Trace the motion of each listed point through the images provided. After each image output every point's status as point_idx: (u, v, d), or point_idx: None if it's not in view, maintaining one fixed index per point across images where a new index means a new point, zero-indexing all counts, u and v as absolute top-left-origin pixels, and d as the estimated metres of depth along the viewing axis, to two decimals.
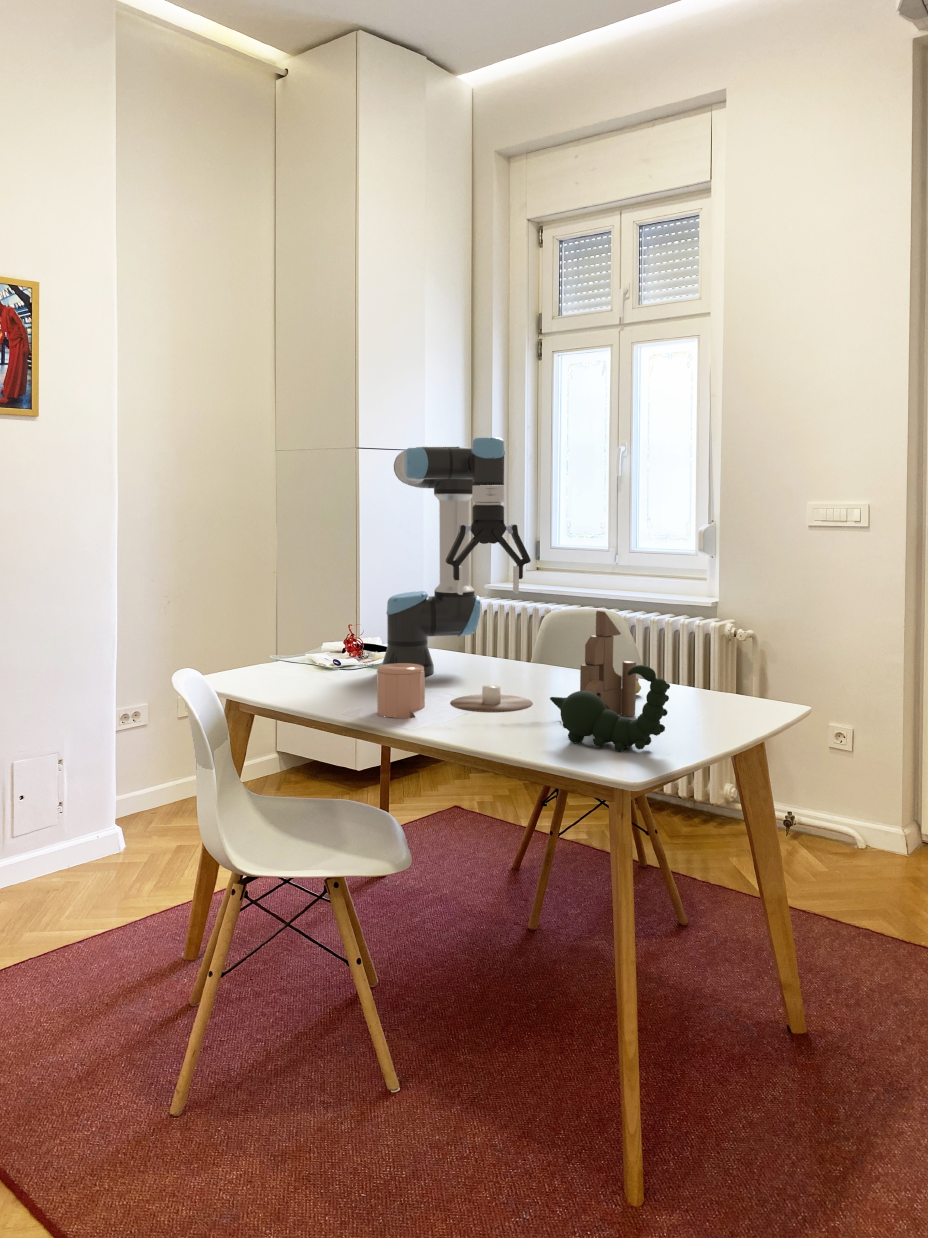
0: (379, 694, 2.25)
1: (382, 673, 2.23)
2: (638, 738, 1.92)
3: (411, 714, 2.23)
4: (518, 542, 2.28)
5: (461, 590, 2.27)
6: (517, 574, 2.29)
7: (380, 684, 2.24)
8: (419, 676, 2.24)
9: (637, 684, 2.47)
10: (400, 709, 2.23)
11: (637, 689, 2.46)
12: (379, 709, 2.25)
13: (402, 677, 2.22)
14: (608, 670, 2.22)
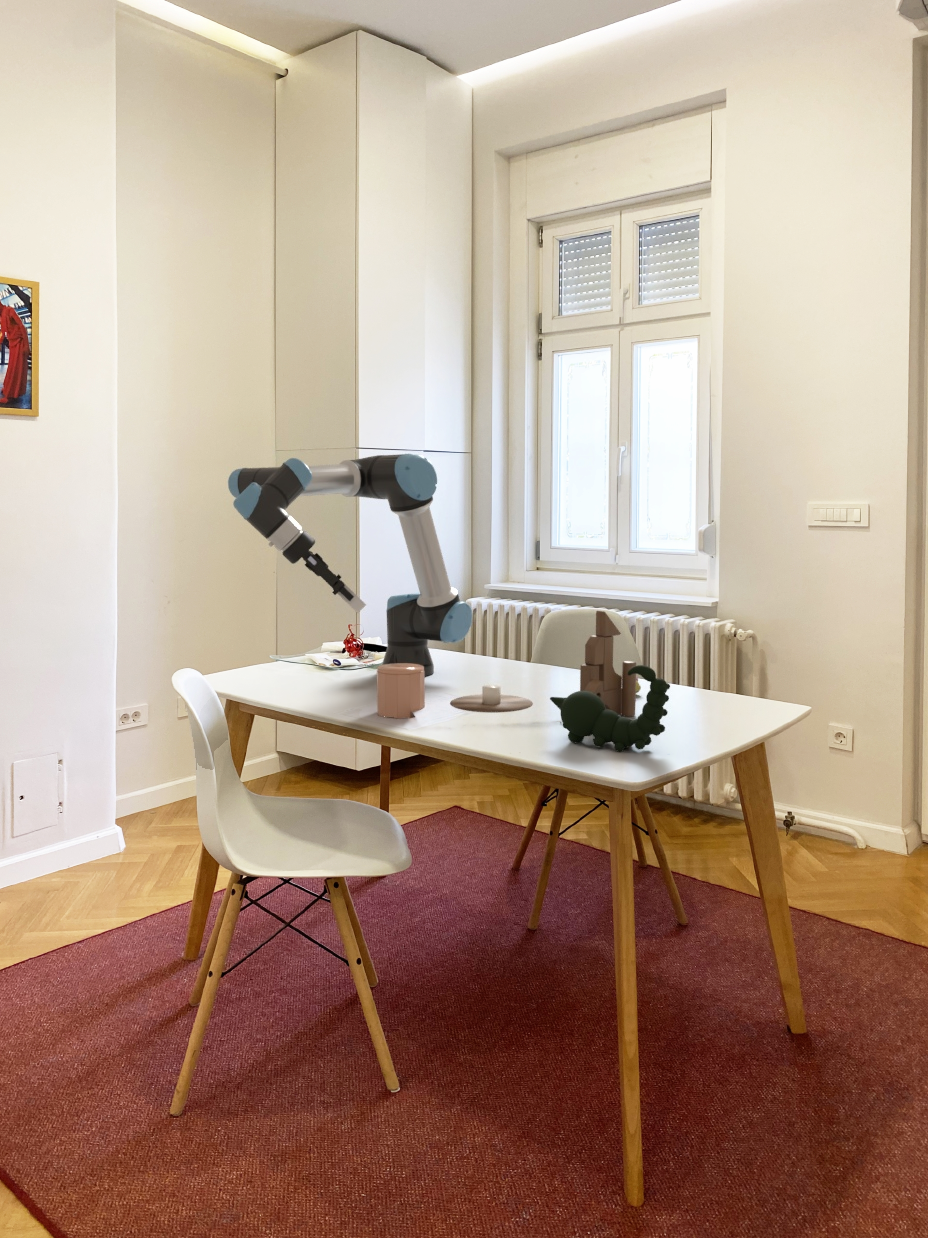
0: (379, 694, 2.25)
1: (382, 673, 2.23)
2: (638, 738, 1.92)
3: (411, 714, 2.23)
4: None
5: None
6: None
7: (380, 684, 2.24)
8: (419, 676, 2.24)
9: (637, 684, 2.47)
10: (400, 709, 2.23)
11: (637, 689, 2.46)
12: (379, 709, 2.25)
13: (402, 677, 2.22)
14: (608, 670, 2.22)
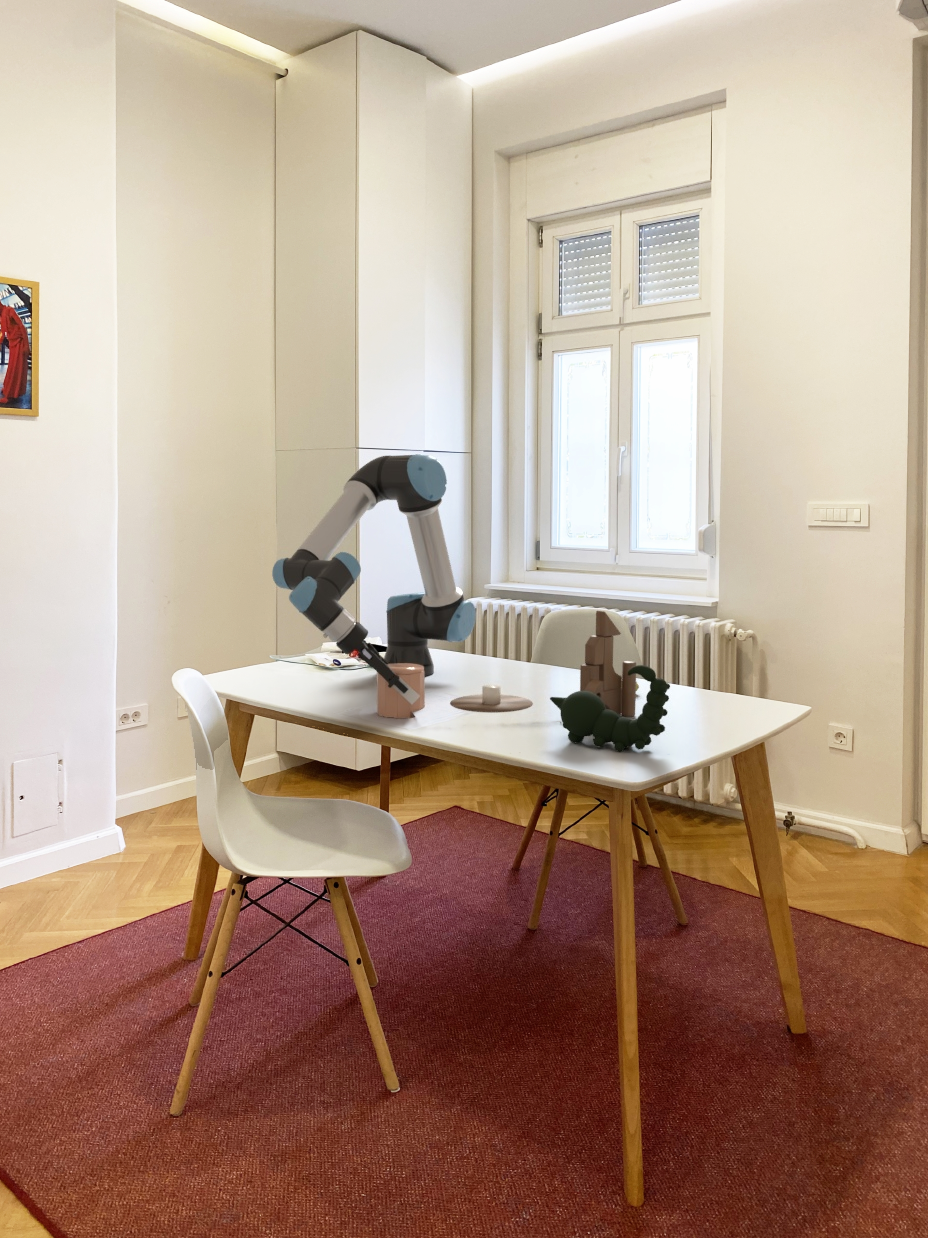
0: (379, 694, 2.25)
1: None
2: (638, 738, 1.92)
3: (411, 714, 2.23)
4: (374, 668, 2.19)
5: None
6: None
7: (380, 684, 2.24)
8: (419, 676, 2.24)
9: None
10: (400, 709, 2.23)
11: None
12: (379, 709, 2.25)
13: (402, 677, 2.22)
14: (608, 670, 2.22)
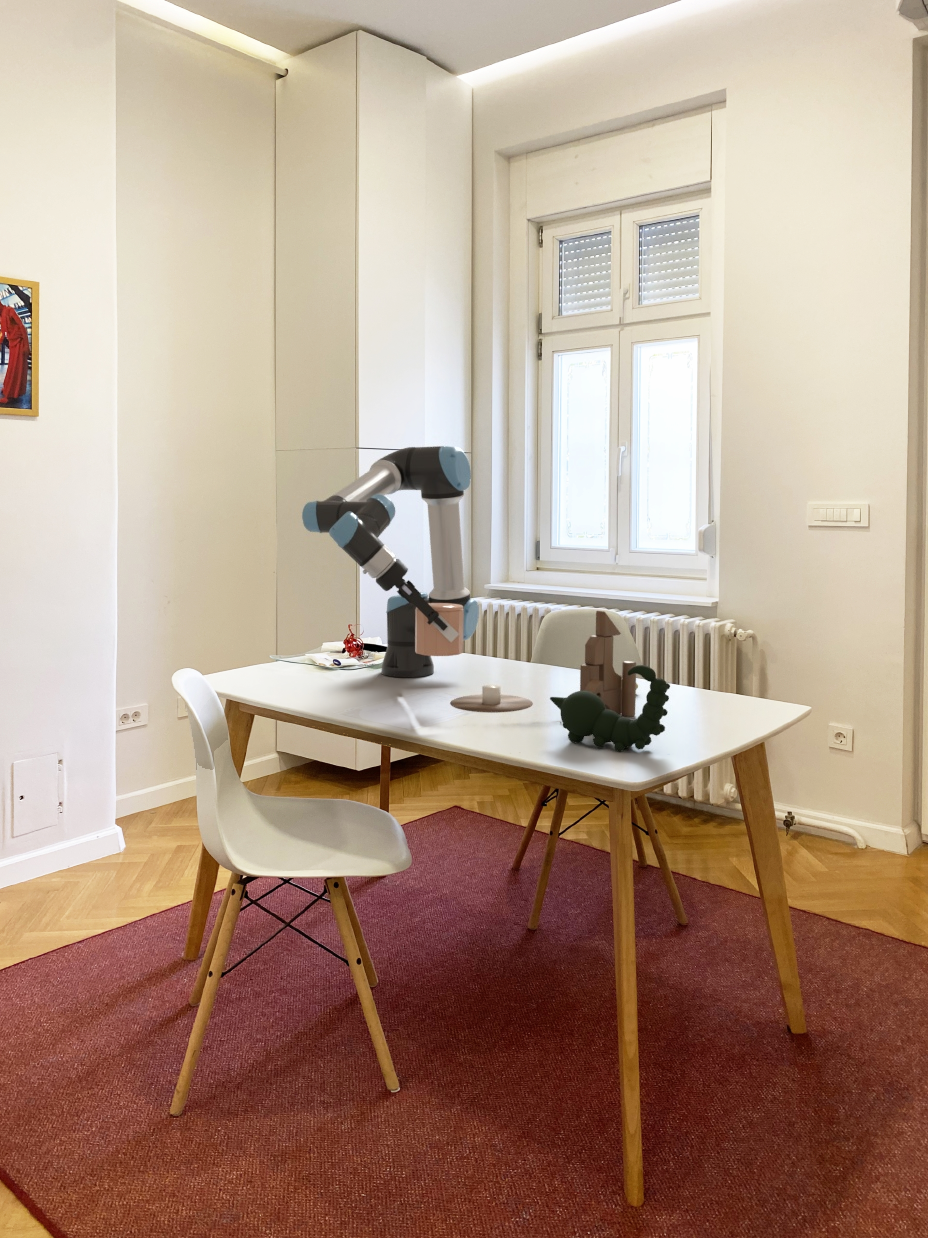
0: (418, 632, 2.23)
1: None
2: (638, 738, 1.92)
3: (450, 652, 2.22)
4: (414, 604, 2.17)
5: None
6: (437, 628, 2.20)
7: (419, 622, 2.23)
8: (458, 614, 2.22)
9: None
10: (439, 647, 2.21)
11: None
12: (417, 647, 2.24)
13: (441, 614, 2.20)
14: (608, 670, 2.22)
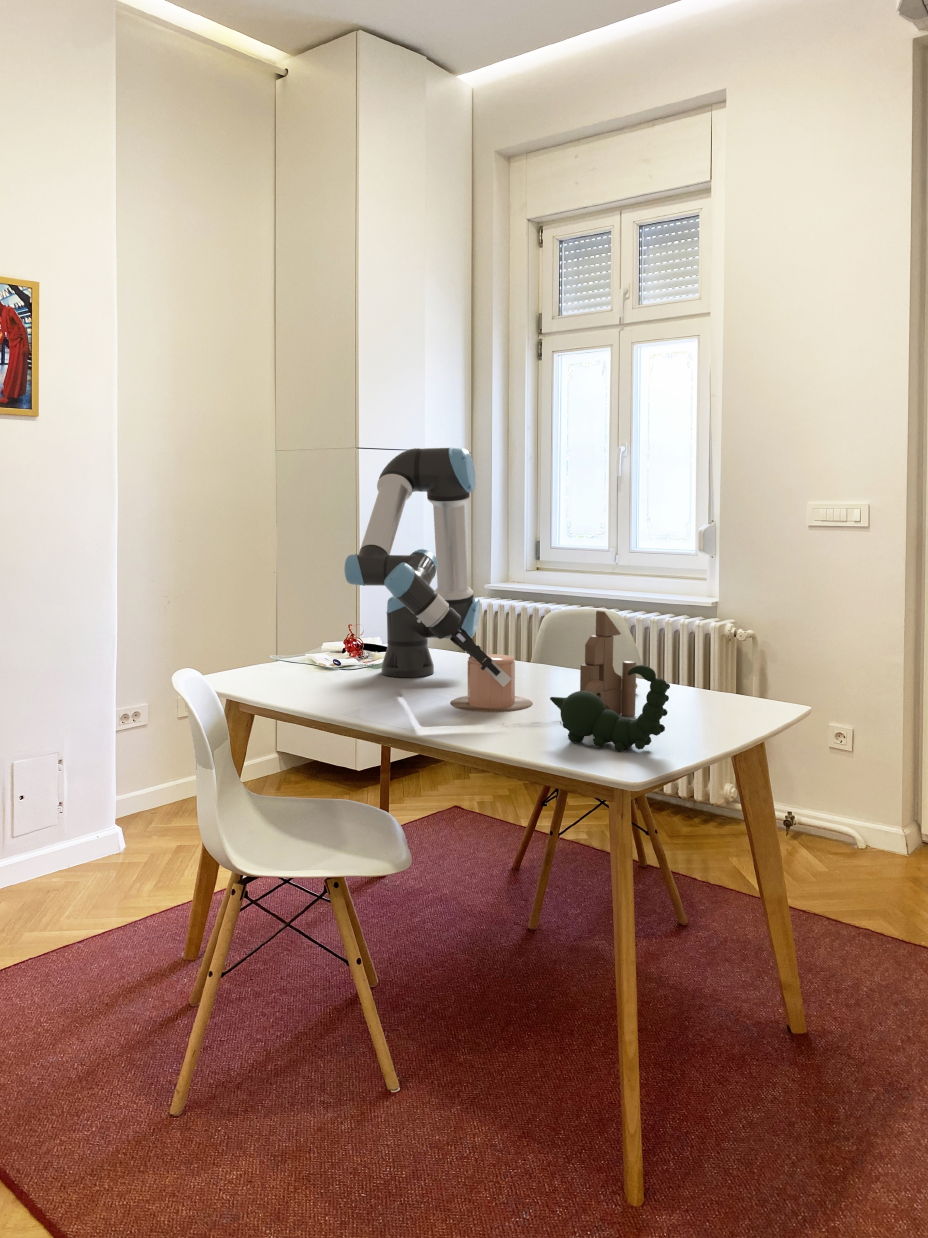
0: (471, 684, 2.29)
1: (474, 663, 2.27)
2: (638, 738, 1.92)
3: (503, 704, 2.27)
4: (468, 651, 2.22)
5: None
6: None
7: (472, 674, 2.28)
8: (511, 667, 2.28)
9: None
10: (492, 699, 2.26)
11: None
12: (471, 699, 2.29)
13: None
14: (608, 670, 2.22)
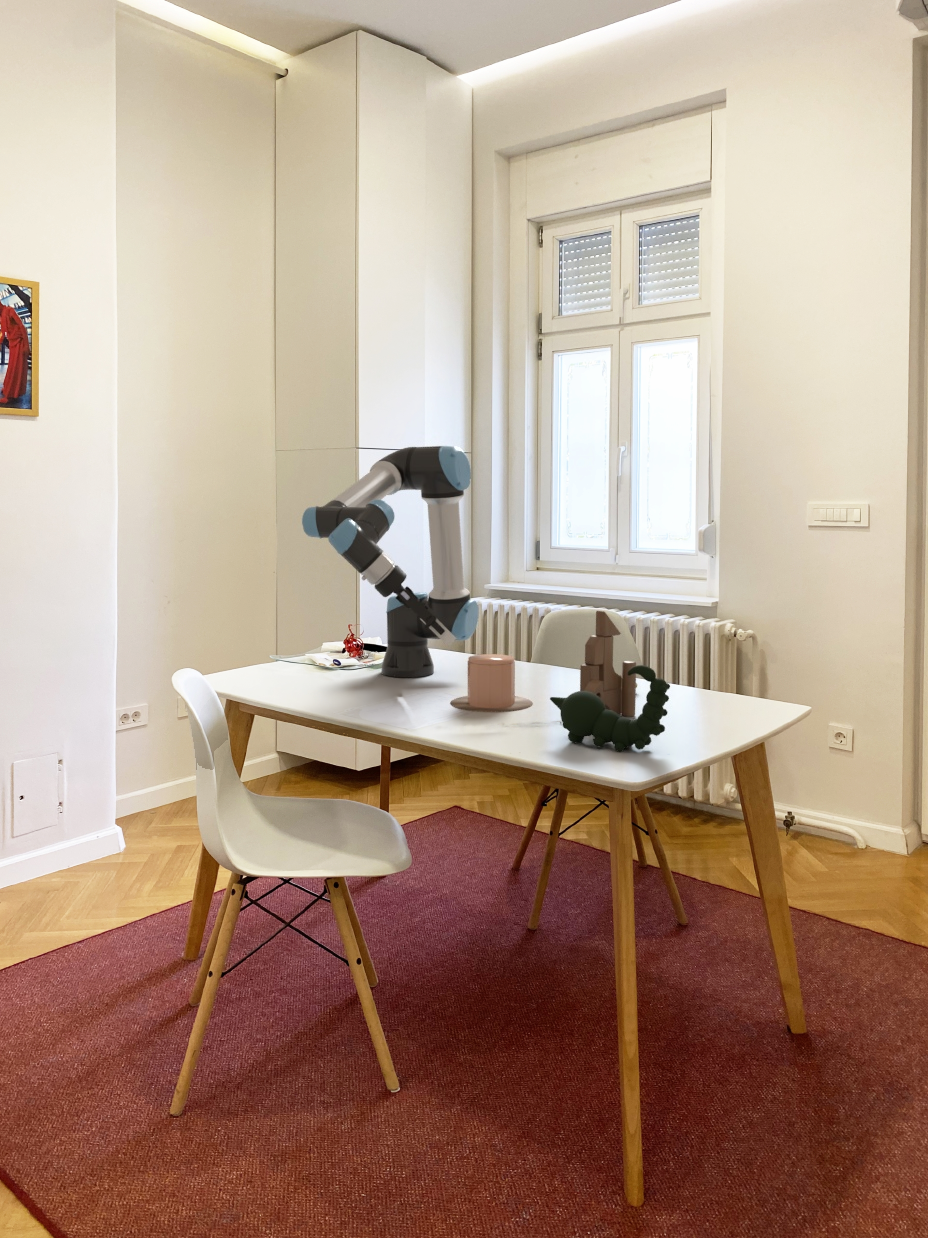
0: (471, 684, 2.29)
1: (474, 663, 2.27)
2: (638, 738, 1.92)
3: (503, 704, 2.27)
4: (412, 609, 2.19)
5: None
6: (434, 632, 2.21)
7: (472, 674, 2.28)
8: (511, 667, 2.28)
9: None
10: (492, 699, 2.26)
11: None
12: (471, 699, 2.29)
13: (495, 667, 2.25)
14: (608, 670, 2.22)
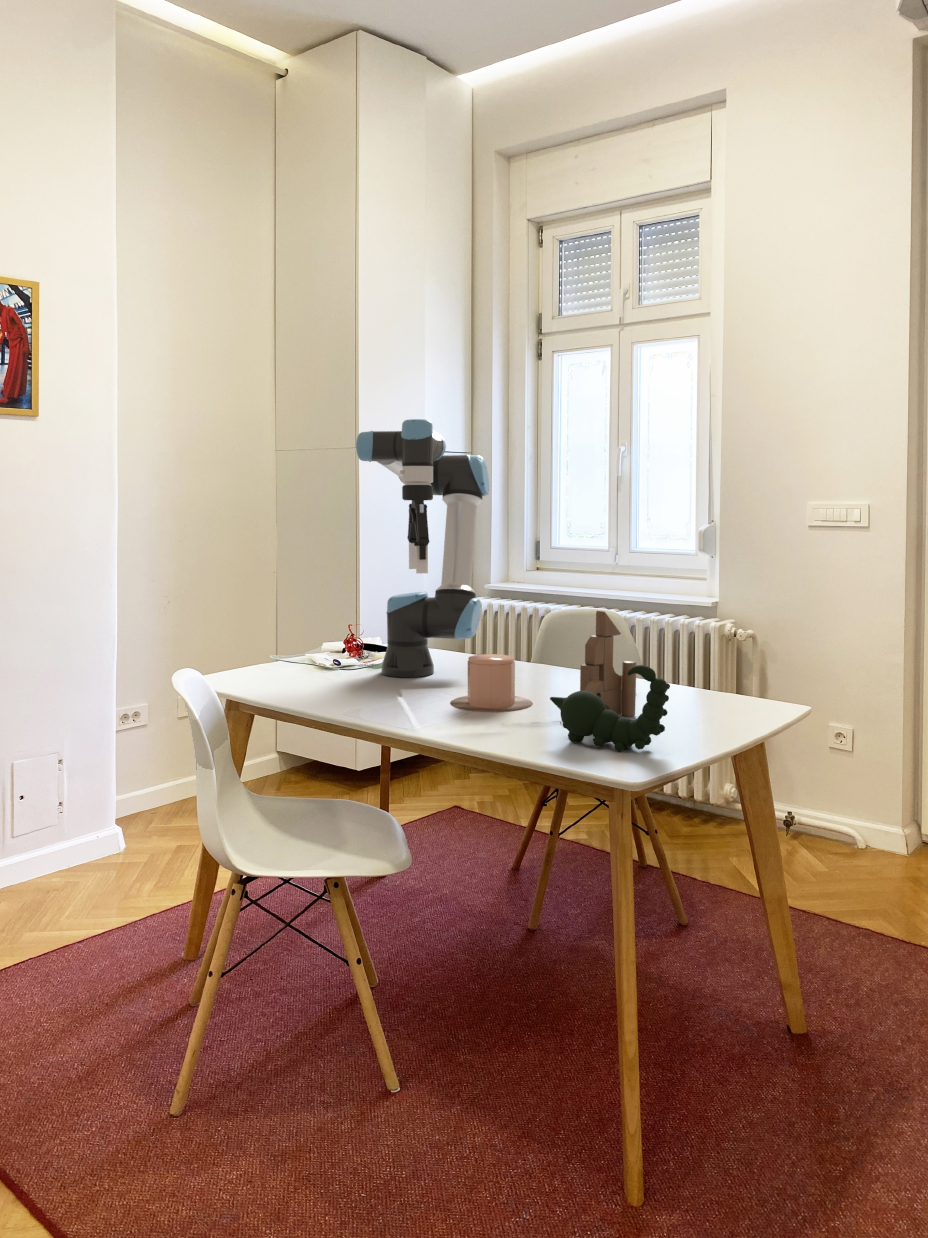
0: (471, 684, 2.29)
1: (474, 663, 2.27)
2: (638, 738, 1.92)
3: (503, 704, 2.27)
4: (417, 522, 2.28)
5: (409, 564, 2.43)
6: (416, 554, 2.29)
7: (472, 674, 2.28)
8: (511, 667, 2.28)
9: None
10: (492, 699, 2.26)
11: None
12: (471, 699, 2.29)
13: (495, 667, 2.25)
14: (608, 670, 2.22)
